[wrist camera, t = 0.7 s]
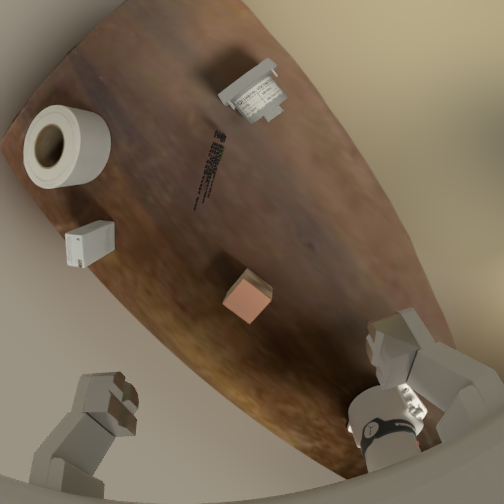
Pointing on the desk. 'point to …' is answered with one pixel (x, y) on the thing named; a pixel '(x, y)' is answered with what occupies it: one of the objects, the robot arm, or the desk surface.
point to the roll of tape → (66, 147)
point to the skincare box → (89, 243)
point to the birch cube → (248, 296)
